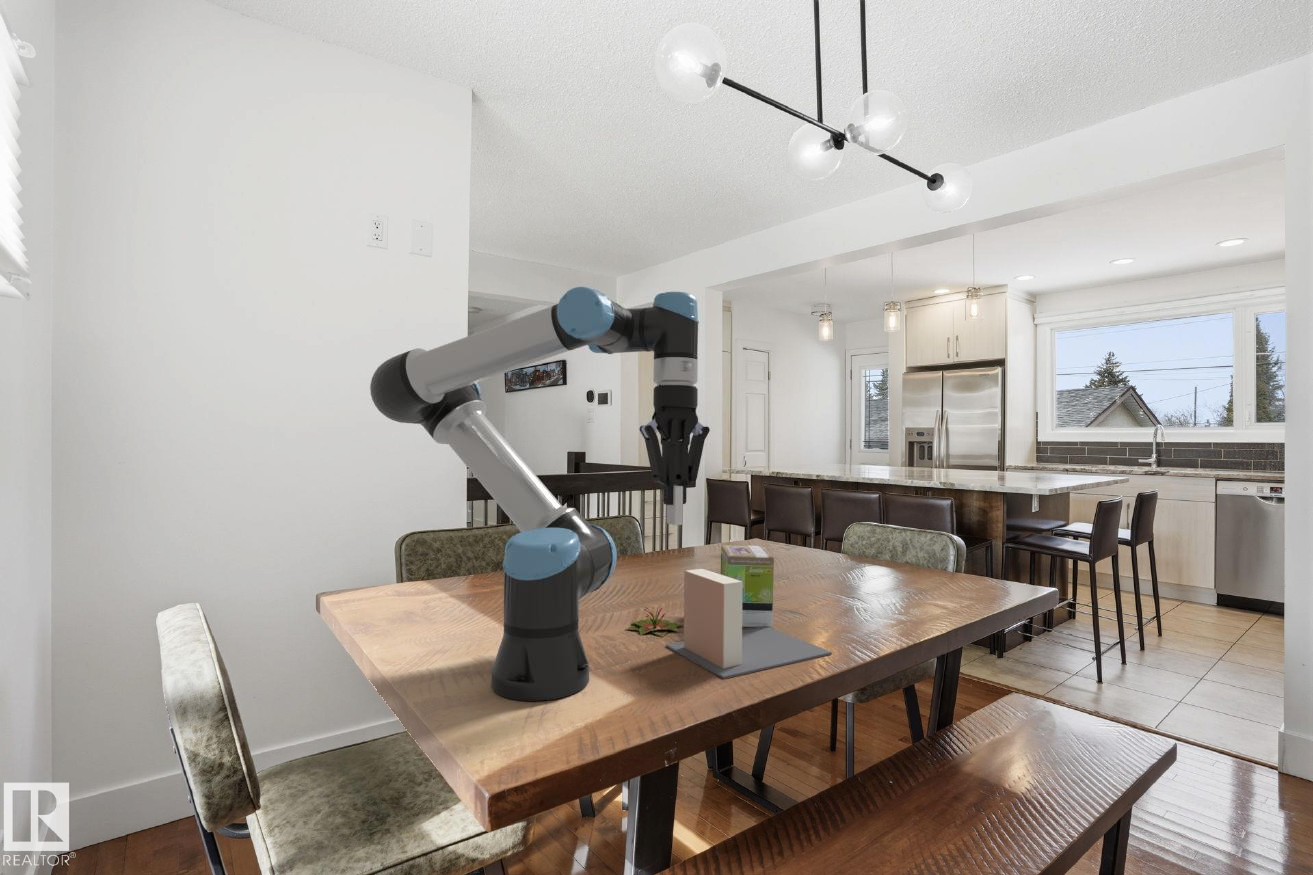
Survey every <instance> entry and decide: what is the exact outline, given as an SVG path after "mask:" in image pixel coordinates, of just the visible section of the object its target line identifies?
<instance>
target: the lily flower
mask: <svg viewBox="0 0 1313 875" xmlns="http://www.w3.org/2000/svg"><path fill="white" fill-rule="evenodd" d="M659 608H660V607H659V606H658V607H657V608H656V612H655V615H654V611H655V610H654V608H652V609H653V611H650V609H649V608H648V607H645V609H644V611H645V612H648V613H649V614H648V613H646V615H645V617H646V619H639V620H636V621H634V622H632V624H633V625H631V626H629V627H628V628H625V629H624V630H632V631H636V630H638V631H639V636H642V635H645V634H646V633H651V634H655V635H656V636H660V637H662V638H664V636H665V635H666V634H667V633H668V630H670V631H675V632H678V633H680V630H679V629H678V628H677V627H681V626H683V624H681V623H677V622H670V620H668V619H663V618H665V615H666V613H663V614H662V615H661V617H660V618H659V616H660V614H661V611H662V609H663V607H661V608H660V609H659ZM658 609H659V611H658ZM635 624H636V625H635ZM651 627H653V629H650V628H651ZM657 627H658V628H660V629H658V631H659V630H662V631H661V632H660V633H659V632H654V631H655V629H657Z"/></svg>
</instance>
